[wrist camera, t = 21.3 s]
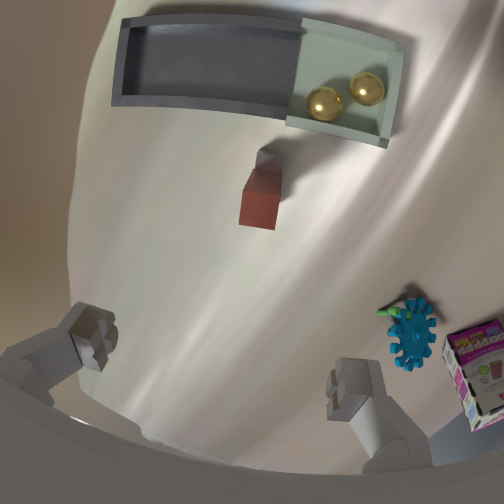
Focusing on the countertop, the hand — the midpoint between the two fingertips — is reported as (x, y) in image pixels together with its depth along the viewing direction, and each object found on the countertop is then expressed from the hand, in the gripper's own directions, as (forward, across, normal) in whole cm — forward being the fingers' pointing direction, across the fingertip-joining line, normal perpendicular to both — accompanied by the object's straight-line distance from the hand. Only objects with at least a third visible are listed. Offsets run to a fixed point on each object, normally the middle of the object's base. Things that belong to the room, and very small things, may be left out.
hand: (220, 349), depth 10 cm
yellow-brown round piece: (+22, -5, -10) cm, 25 cm away
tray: (+25, -5, -11) cm, 27 cm away
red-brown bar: (+24, 0, +1) cm, 24 cm away
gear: (+24, -22, +16) cm, 37 cm away
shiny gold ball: (+24, -9, -11) cm, 28 cm away
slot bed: (+25, +8, -10) cm, 28 cm away
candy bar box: (+24, -38, +19) cm, 49 cm away
